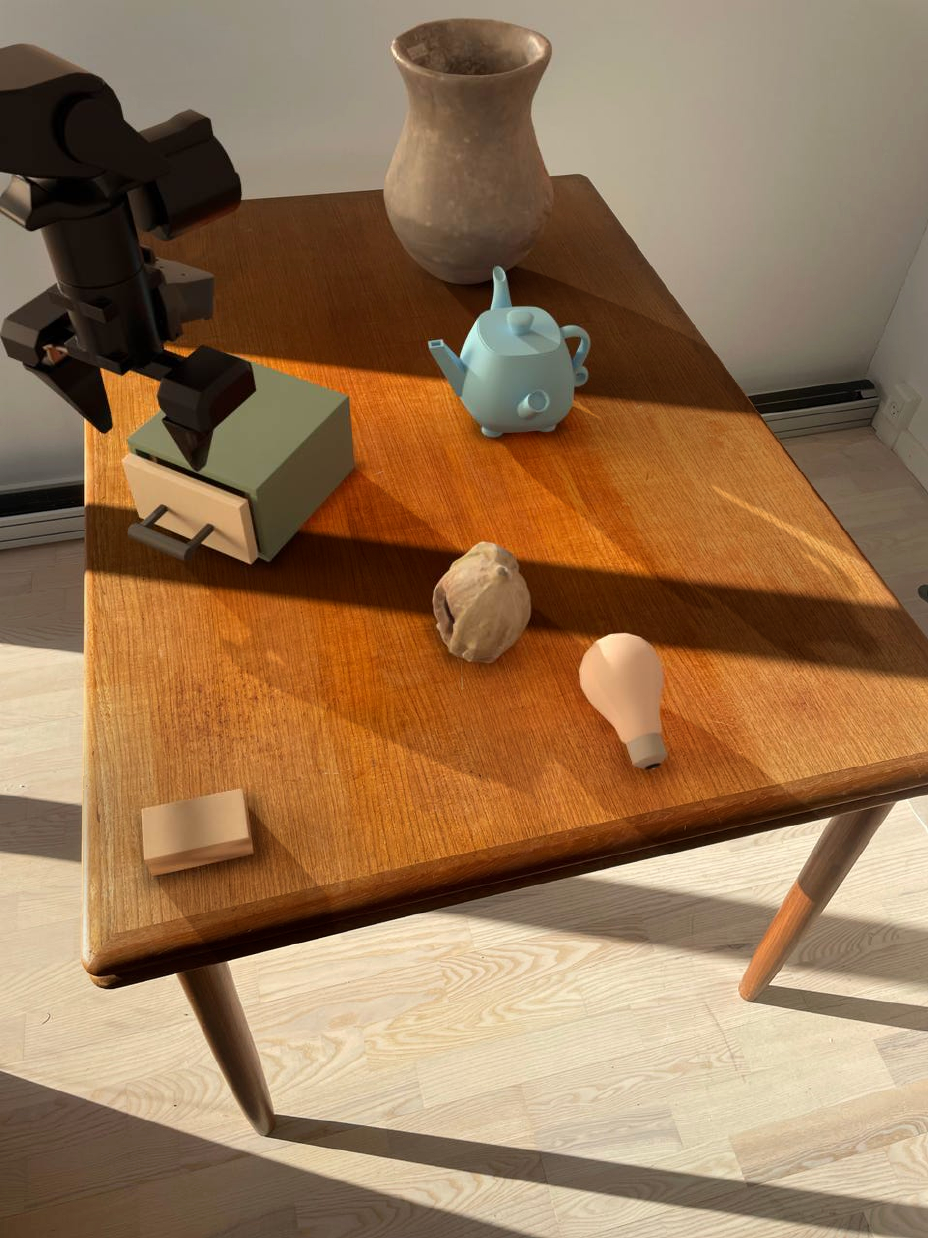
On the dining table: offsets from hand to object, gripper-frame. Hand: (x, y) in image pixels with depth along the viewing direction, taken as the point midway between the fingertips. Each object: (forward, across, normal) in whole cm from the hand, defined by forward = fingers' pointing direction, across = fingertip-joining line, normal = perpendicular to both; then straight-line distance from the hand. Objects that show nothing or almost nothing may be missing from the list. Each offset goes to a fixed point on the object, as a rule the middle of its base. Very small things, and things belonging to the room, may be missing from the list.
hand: (153, 448), depth 76 cm
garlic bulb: (+14, -27, -5) cm, 30 cm away
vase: (+14, +2, -56) cm, 58 cm away
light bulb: (+14, -40, -3) cm, 43 cm away
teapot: (+14, -15, -34) cm, 39 cm away
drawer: (+12, +1, -7) cm, 14 cm away
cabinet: (+13, +1, -11) cm, 17 cm away
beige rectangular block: (+13, -18, +21) cm, 30 cm away
